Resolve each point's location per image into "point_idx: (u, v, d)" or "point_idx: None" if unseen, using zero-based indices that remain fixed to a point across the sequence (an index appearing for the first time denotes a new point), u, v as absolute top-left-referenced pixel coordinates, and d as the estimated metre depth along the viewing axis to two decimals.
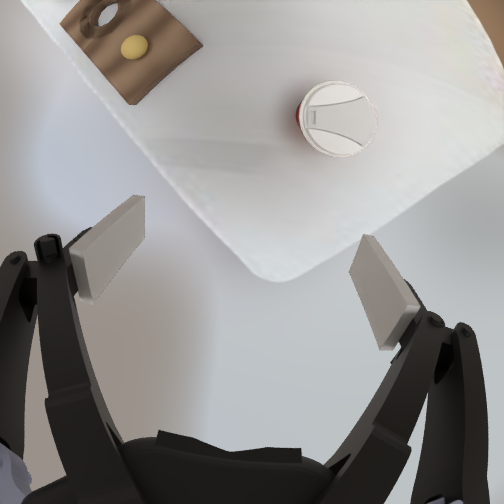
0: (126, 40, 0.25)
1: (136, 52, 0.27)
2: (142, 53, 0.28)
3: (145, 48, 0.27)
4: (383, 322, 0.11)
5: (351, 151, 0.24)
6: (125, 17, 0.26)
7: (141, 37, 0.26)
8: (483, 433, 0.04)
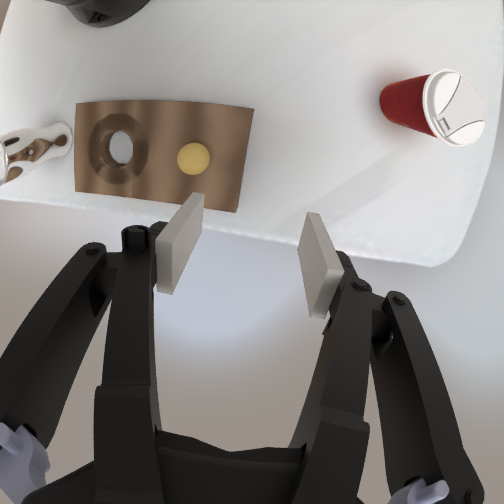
0: (181, 158, 0.29)
1: (204, 162, 0.30)
2: (209, 158, 0.31)
3: (207, 152, 0.31)
4: (313, 289, 0.13)
5: (481, 131, 0.17)
6: (146, 137, 0.32)
7: (193, 144, 0.30)
8: (446, 406, 0.05)
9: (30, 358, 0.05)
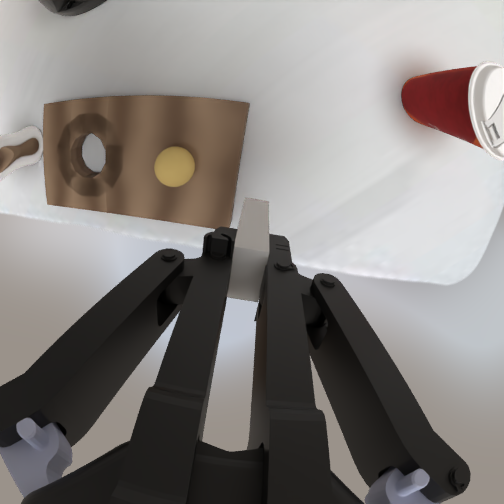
0: (159, 166, 0.23)
1: (187, 171, 0.24)
2: (194, 166, 0.25)
3: (191, 158, 0.24)
4: None
5: None
6: (120, 141, 0.25)
7: (173, 149, 0.23)
8: (404, 391, 0.06)
9: (78, 361, 0.05)
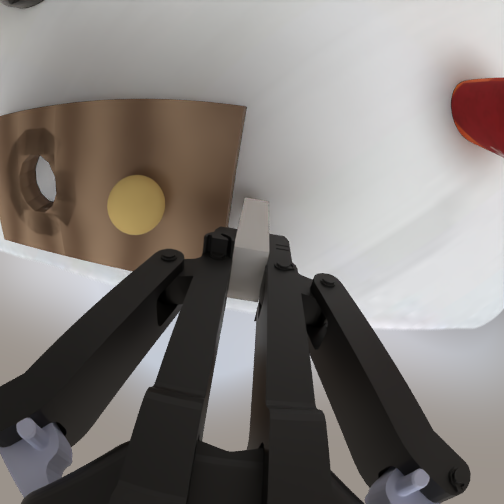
0: (111, 208, 0.15)
1: (151, 215, 0.16)
2: (162, 205, 0.17)
3: (159, 193, 0.16)
4: None
5: None
6: (71, 165, 0.17)
7: (131, 181, 0.15)
8: (404, 391, 0.06)
9: (78, 361, 0.05)
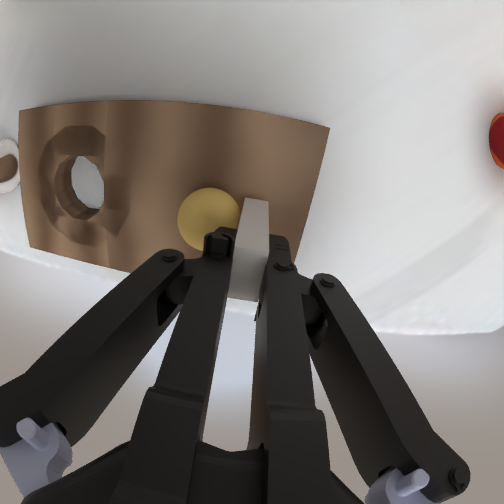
0: (183, 221, 0.15)
1: None
2: None
3: (237, 210, 0.16)
4: None
5: None
6: (126, 170, 0.17)
7: (208, 195, 0.15)
8: (403, 391, 0.06)
9: (78, 361, 0.05)
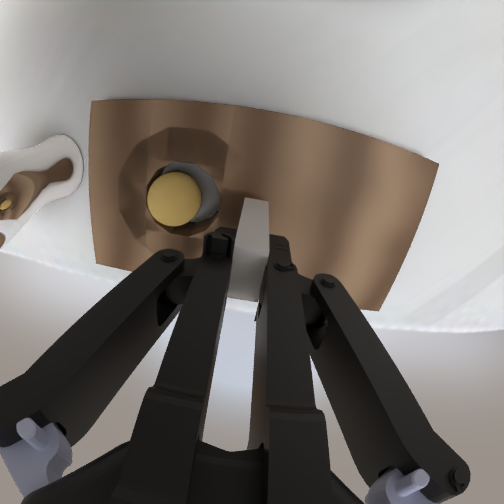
0: (154, 201, 0.17)
1: (193, 209, 0.18)
2: (200, 200, 0.19)
3: (198, 189, 0.19)
4: None
5: None
6: (252, 185, 0.18)
7: (174, 177, 0.18)
8: (404, 391, 0.06)
9: (78, 361, 0.05)
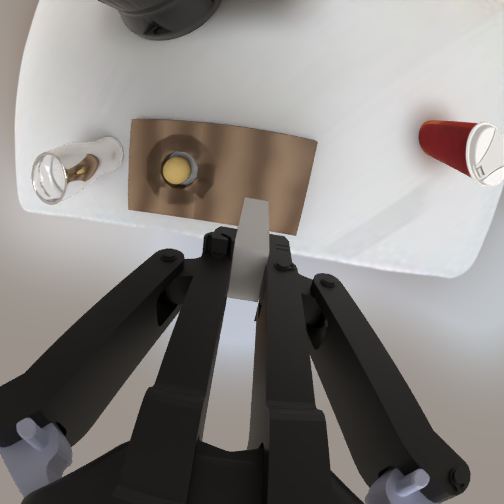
0: (168, 170, 0.35)
1: (187, 174, 0.36)
2: (190, 170, 0.37)
3: (189, 164, 0.36)
4: None
5: None
6: (213, 161, 0.35)
7: (178, 159, 0.35)
8: (404, 390, 0.06)
9: (78, 361, 0.05)
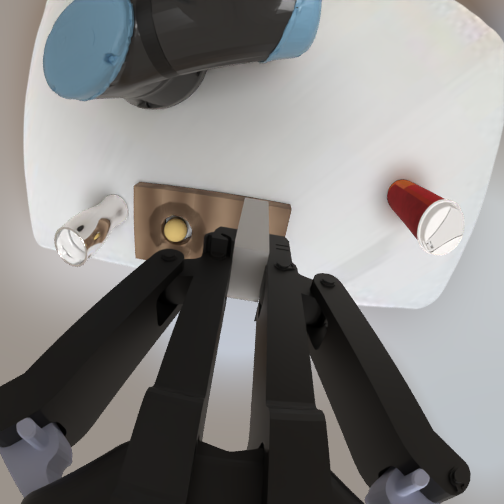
0: (169, 232, 0.44)
1: (185, 234, 0.45)
2: (186, 229, 0.46)
3: (185, 225, 0.45)
4: None
5: (457, 243, 0.30)
6: (204, 225, 0.44)
7: (176, 222, 0.44)
8: (404, 391, 0.06)
9: (78, 361, 0.05)
